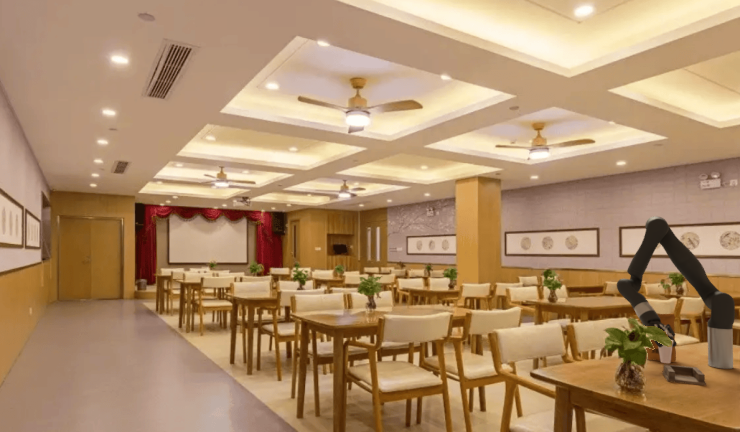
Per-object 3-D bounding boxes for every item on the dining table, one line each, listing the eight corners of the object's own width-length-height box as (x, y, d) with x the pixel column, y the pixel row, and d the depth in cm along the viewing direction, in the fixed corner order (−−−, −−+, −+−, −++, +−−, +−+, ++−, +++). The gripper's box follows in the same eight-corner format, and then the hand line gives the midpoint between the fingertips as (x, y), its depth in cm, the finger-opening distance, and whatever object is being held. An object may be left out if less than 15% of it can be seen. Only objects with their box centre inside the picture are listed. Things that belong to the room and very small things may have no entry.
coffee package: (646, 355, 244) (645, 310, 245) (676, 359, 237) (675, 312, 238) (645, 359, 235) (644, 312, 236) (676, 363, 229) (675, 315, 230)
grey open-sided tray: (662, 373, 211) (662, 363, 211) (698, 377, 206) (698, 367, 207) (667, 381, 199) (667, 371, 199) (706, 385, 194) (706, 375, 195)
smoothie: (676, 364, 216) (675, 331, 216) (660, 363, 217) (659, 331, 218) (670, 360, 222) (670, 328, 222) (654, 360, 223) (654, 328, 224)
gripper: (637, 310, 226) (658, 341, 214) (664, 309, 229) (687, 340, 217) (629, 320, 231) (649, 351, 219) (655, 318, 234) (677, 350, 222)
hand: (668, 346), depth 218 cm, fingers closed on smoothie, 6 cm apart
